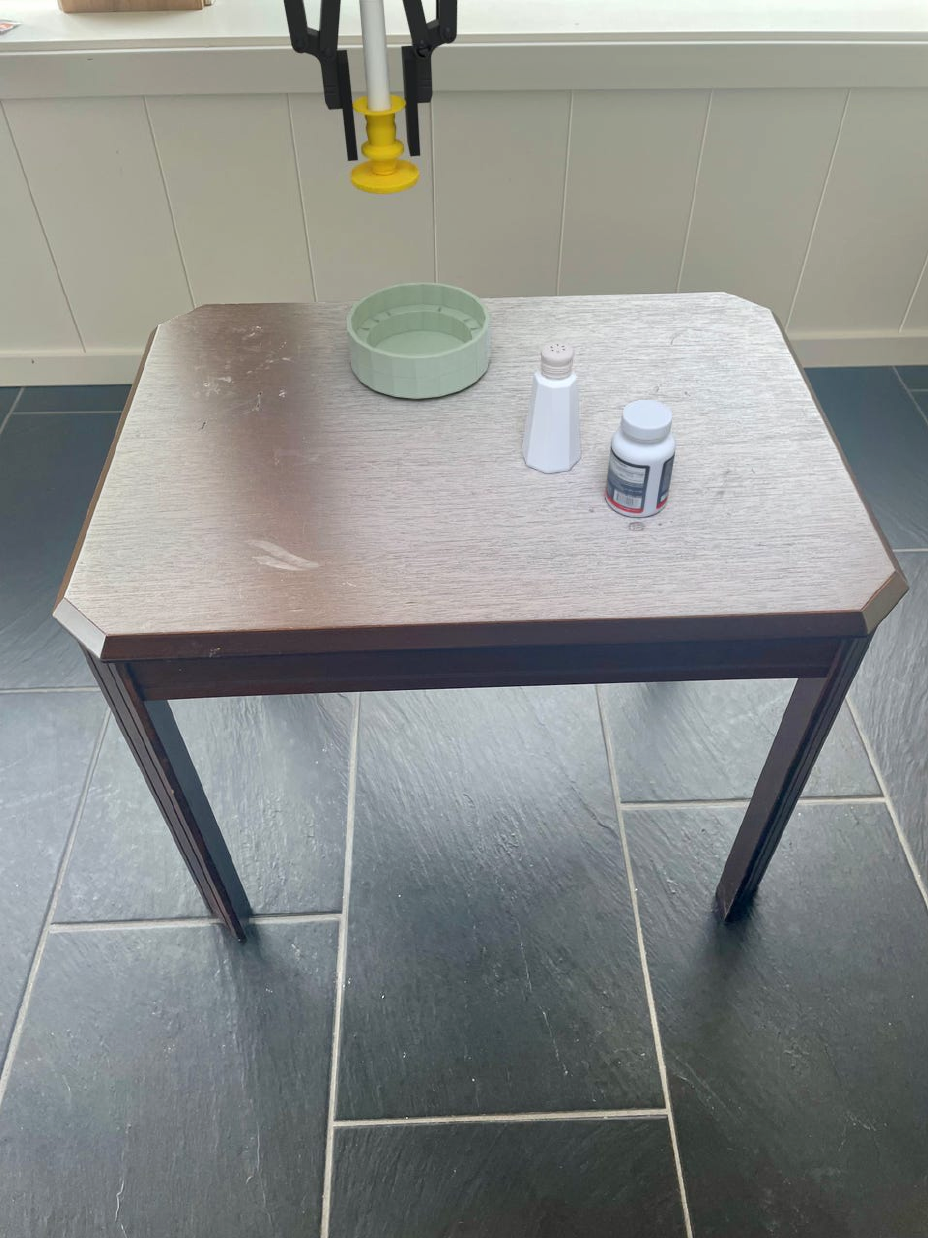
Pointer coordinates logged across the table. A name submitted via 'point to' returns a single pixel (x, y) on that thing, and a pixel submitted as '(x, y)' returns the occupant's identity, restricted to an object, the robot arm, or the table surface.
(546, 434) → the pepper shaker
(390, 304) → the bowl
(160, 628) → the table surface
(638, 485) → the pill bottle
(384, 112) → the candle
